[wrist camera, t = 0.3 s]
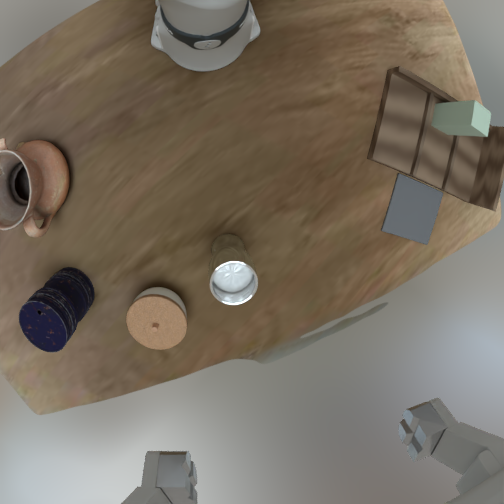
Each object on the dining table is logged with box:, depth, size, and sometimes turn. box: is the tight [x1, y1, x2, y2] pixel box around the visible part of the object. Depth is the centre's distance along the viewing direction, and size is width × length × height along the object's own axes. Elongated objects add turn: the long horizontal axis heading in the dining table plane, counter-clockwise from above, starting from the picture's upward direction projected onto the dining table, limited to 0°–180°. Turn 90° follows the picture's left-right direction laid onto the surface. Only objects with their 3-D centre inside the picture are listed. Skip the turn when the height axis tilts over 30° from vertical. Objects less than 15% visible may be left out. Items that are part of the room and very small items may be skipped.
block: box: [431, 100, 491, 137], centre depth 46 cm, size 5×5×12 cm
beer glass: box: [208, 234, 258, 305], centre depth 50 cm, size 7×7×15 cm
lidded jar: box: [126, 287, 187, 349], centre depth 54 cm, size 11×11×9 cm
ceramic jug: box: [0, 138, 69, 237], centre depth 42 cm, size 18×14×14 cm
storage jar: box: [19, 267, 94, 352], centre depth 49 cm, size 10×10×15 cm
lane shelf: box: [367, 66, 504, 211], centre depth 50 cm, size 19×29×10 cm, turn 75°
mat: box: [381, 173, 443, 245], centre depth 59 cm, size 12×13×1 cm
